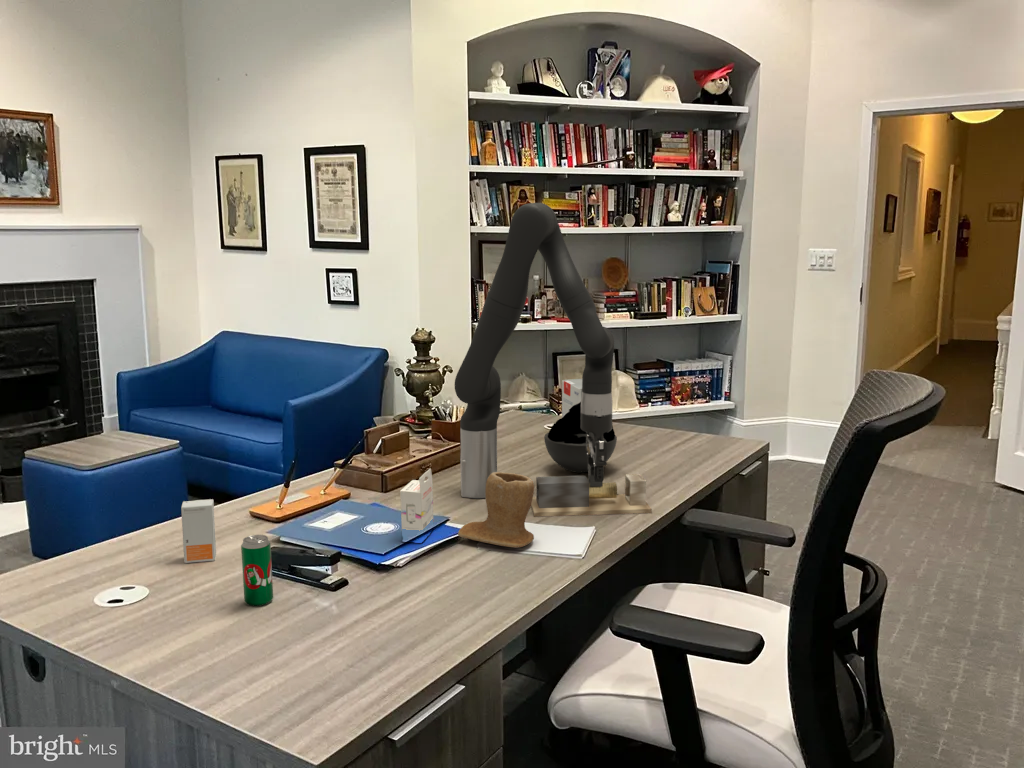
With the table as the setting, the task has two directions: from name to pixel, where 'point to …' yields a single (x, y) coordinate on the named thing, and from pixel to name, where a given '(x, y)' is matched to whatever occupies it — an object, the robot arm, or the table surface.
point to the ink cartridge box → (417, 503)
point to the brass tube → (600, 486)
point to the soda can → (257, 570)
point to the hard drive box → (571, 394)
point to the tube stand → (586, 497)
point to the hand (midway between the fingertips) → (595, 476)
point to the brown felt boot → (504, 512)
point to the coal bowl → (573, 442)
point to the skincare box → (198, 531)
